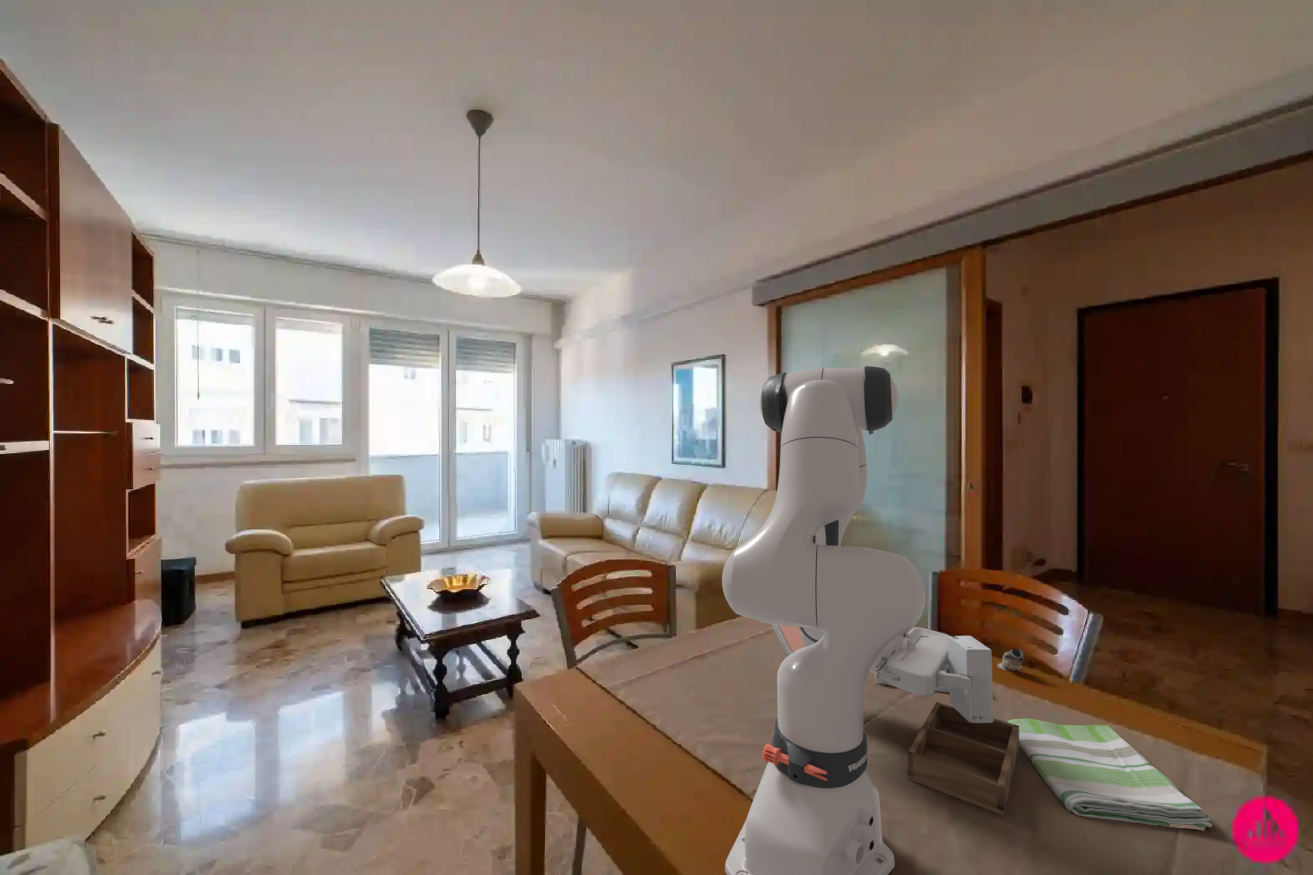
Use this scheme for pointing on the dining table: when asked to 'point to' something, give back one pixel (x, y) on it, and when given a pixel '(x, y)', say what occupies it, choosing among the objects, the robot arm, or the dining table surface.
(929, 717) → the walnut slot rack
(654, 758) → the dining table surface
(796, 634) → the notebook
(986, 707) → the skincare box
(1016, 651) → the vase
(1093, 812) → the dish towel
